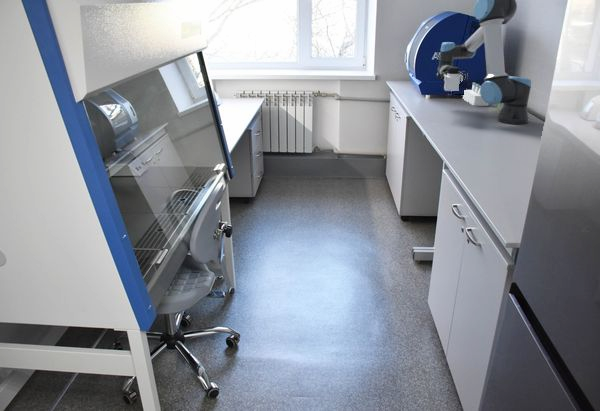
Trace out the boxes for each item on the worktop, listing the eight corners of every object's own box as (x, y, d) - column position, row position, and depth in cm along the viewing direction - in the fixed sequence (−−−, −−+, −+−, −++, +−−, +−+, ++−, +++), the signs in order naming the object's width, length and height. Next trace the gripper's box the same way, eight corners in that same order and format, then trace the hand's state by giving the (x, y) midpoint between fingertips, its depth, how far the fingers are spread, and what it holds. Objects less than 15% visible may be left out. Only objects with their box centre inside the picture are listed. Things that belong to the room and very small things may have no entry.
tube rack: (488, 105, 299) (491, 87, 295) (473, 105, 299) (476, 87, 295) (476, 98, 319) (478, 81, 315) (462, 99, 319) (464, 81, 315)
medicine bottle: (458, 91, 259) (461, 68, 254) (444, 90, 260) (447, 67, 256) (457, 88, 265) (460, 66, 261) (443, 88, 267) (446, 65, 262)
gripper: (465, 79, 277) (473, 86, 256) (428, 79, 279) (433, 85, 259) (466, 66, 274) (474, 71, 253) (429, 65, 276) (434, 71, 256)
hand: (453, 78), depth 256 cm, fingers closed on medicine bottle, 7 cm apart
